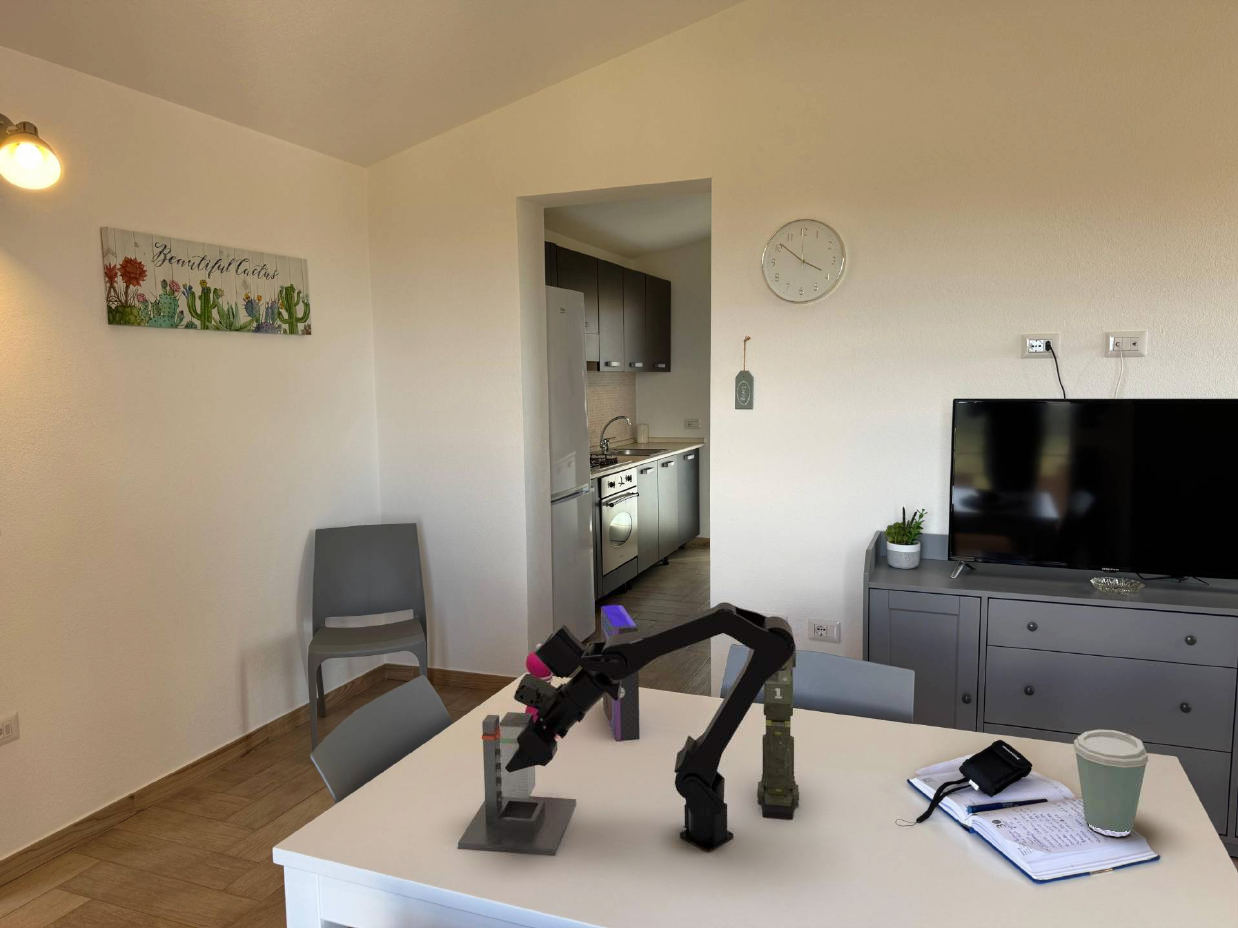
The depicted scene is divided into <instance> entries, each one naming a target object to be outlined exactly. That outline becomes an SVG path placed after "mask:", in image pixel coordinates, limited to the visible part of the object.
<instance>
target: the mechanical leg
mask: <svg viewBox="0 0 1238 928" xmlns="http://www.w3.org/2000/svg"><path fill="white" fill-rule="evenodd" d="M796 663H797V645H796V644H795V650H794V653H793V655H792V657H791V658H790V659H789V660H788V661H787V662H786V663H785V665H784V666H783V667H782V668H781V669H780V670H779V671H778V672H777V673H776V674H774V675H773V676H772V677H771V678H769V679H768V680H767V681H766V682H765V683H764V685H763V716H765V734H762V774H761V779H760V781H758V782H757V789H756V790H757V791H756V792H757V793H756V795H757V796H756V797H757V803H758V804H760V807H761V813H762V818H764V819H765V818H766V819H775V820H776V819H777V820H778V819H780V820H788V821H792V820H794V817H795V816H794V815H795V810H796V807H798V806H799V801H800V792H799V784H797V783H796V778H795V737H794V736H793V735H791V729H792V727H791V718H792V716H794V674H793V673H794V672H793V671H794V670H793V669H795V668H796V667H797V664H796Z"/></svg>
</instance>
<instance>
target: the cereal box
mask: <svg viewBox="0 0 1238 928" xmlns="http://www.w3.org/2000/svg"><path fill="white" fill-rule="evenodd" d="M600 609H601V610H600V611H601V612H600V613H601V618H600V619H601V641H607V640H608V639H609V638H611V637H612V636H614V635H618V634H624V633H629V632H639V627H638V626H637V624H636V623H635V621H634V620H633V619H632V617H631V616H630V614H629V613H628V611H626V609H625V607H624V606H623V605H618V604H617V605H616V604H615V605H614V604H612V605H603V606H600ZM639 672H640V670H639V671H637V672H635V673H633V674H632V675H630V676H628V677H627V678H625V679H622V682H621V694H620V696H619V699H618V700H617V701H615V700H614V699H613V698H612V697H611V696H610V695H609V694H608V693H606V694H605V695H604V696H603V697H602V709H603V712H604V715H605V716H606V719H607V722H608V721H609V722H608V723H609V727H610V728H612V729H611V732H612V733H613V735H614V737H615V740H616V742H617V741H618V742H627V741H636V740H637V741H638V740H640V739H641V738H640V685H639V683H640V681H639V680H640V679H639V677H640V676H639V675H640V674H639Z"/></svg>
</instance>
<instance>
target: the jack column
mask: <svg viewBox="0 0 1238 928" xmlns="http://www.w3.org/2000/svg"><path fill="white" fill-rule="evenodd" d="M499 722H500V749H501V777H502V797H515V798H529V797H530V796H532V793H533V791H534V789H535V787H536V766H532V767H528V768H524V769H521V770H517V771H514V772H510V773H509V772H508V771H507V770H506V769H505V767H506V765H507V764H508V763H509V761H510V760H511V758H512V757H513V755H514V754H515V752H516V751H517V749H518V748H519V744H518V742H517V737H518V735H519V734H520V732H521V731H522V730H523V729H524V728H525V726H526V725H527V724H528V723H529V722H534V715H533V713H525V712H514V711H513V712H512V711H507V713H505V715H504V717H503V718H502V719H501V721H499Z"/></svg>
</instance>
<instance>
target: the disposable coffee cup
mask: <svg viewBox="0 0 1238 928" xmlns="http://www.w3.org/2000/svg"><path fill="white" fill-rule="evenodd" d="M1072 746H1073V751H1074V753H1075V757H1076V765H1077V770H1078V777H1079V786H1080V791H1081V799H1082V805H1083V806H1082V807H1083V815H1084V819H1086V820H1085V822H1086V821H1087V822H1088V823H1089V824H1090V825H1092V826H1094V827H1096V828H1100V829H1103V830H1110V831H1115V832H1125V831H1127V832H1129V831H1130V830H1131V831H1133V830H1134V825H1135V820H1136V816H1137V811H1138V806H1139V801H1140V796H1141V792H1142V791H1141V790H1142V786H1143V781H1144V778H1145V777H1144V776H1145V771H1146V766H1147V763H1149V755H1148V753H1147V751H1146V749H1145V746H1144V743H1143V742H1142V740H1141V739H1139V738H1137V737H1135V736H1133V735H1131V734H1128V733H1125V732H1121V731H1118V730H1115V729H1113V730H1112V729H1111V730H1110V729H1093V730H1087V731H1084V732H1082V733H1081V734H1080V735H1078V736H1077V738H1076V739H1074V740H1073V745H1072Z"/></svg>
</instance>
